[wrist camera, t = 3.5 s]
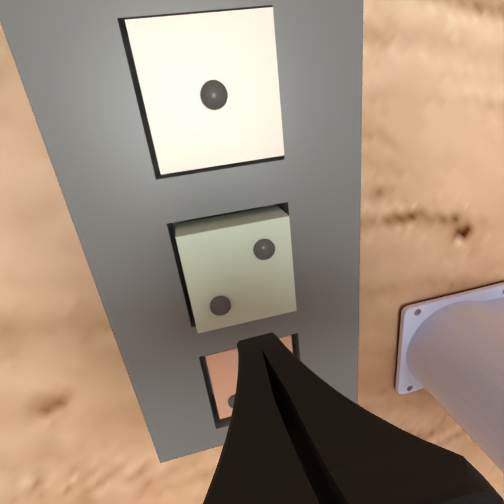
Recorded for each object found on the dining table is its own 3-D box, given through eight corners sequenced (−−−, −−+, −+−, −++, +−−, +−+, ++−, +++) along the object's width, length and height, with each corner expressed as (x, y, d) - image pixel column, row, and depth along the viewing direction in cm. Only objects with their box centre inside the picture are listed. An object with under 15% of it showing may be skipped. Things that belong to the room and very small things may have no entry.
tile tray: (322, -15, 14) (364, -53, 11) (332, 367, 23) (357, 406, 20) (31, 8, 12) (-19, -30, 9) (162, 411, 21) (160, 462, 18)
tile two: (276, 205, 15) (290, 217, 13) (284, 291, 17) (297, 312, 15) (175, 223, 14) (175, 238, 12) (195, 311, 16) (198, 335, 14)
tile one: (259, 22, 12) (273, 5, 10) (271, 151, 14) (285, 155, 12) (132, 34, 11) (123, 18, 9) (162, 167, 13) (160, 175, 11)
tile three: (281, 316, 19) (292, 336, 17) (287, 376, 21) (297, 400, 19) (202, 334, 18) (205, 358, 16) (216, 394, 20) (219, 421, 18)
